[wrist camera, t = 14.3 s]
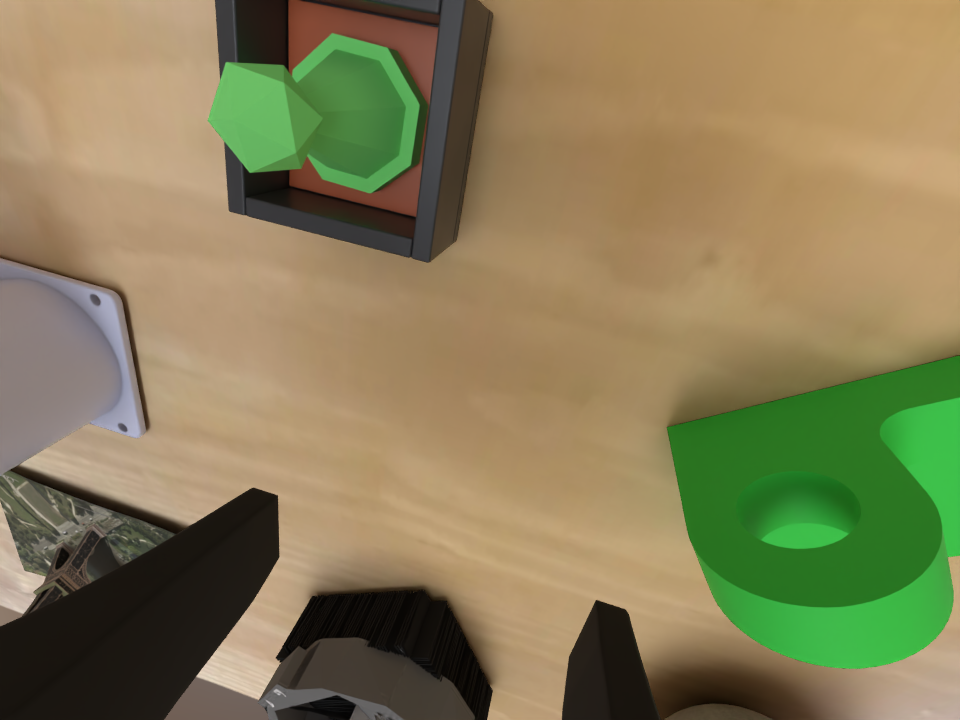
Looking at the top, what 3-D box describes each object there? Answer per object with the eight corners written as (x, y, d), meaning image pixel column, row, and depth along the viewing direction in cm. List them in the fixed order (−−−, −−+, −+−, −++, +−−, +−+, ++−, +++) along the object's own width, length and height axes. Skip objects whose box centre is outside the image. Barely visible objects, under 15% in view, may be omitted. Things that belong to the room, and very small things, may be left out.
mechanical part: (711, 543, 20) (767, 770, 13) (666, 427, 18) (704, 619, 11) (1107, 483, 16) (1515, 783, 9) (1102, 320, 14) (1620, 532, 7)
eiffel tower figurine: (215, 534, 28) (-70, 838, 16) (226, 638, 32) (13, 929, 21) (-7, 456, 29) (-412, 680, 18) (35, 566, 34) (-261, 799, 22)
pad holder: (284, 197, 18) (227, 211, 15) (281, -28, 14) (209, -61, 12) (456, 241, 17) (429, 263, 14) (493, 13, 14) (467, -12, 11)
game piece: (441, 181, 15) (357, 214, 10) (322, 199, 17) (192, 236, 11) (413, 20, 14) (293, -41, 8) (282, 52, 15) (105, 17, 10)
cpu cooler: (489, 828, 23) (320, 806, 27) (510, 703, 28) (365, 698, 32) (406, 692, 20) (223, 687, 23) (446, 576, 25) (291, 586, 28)
